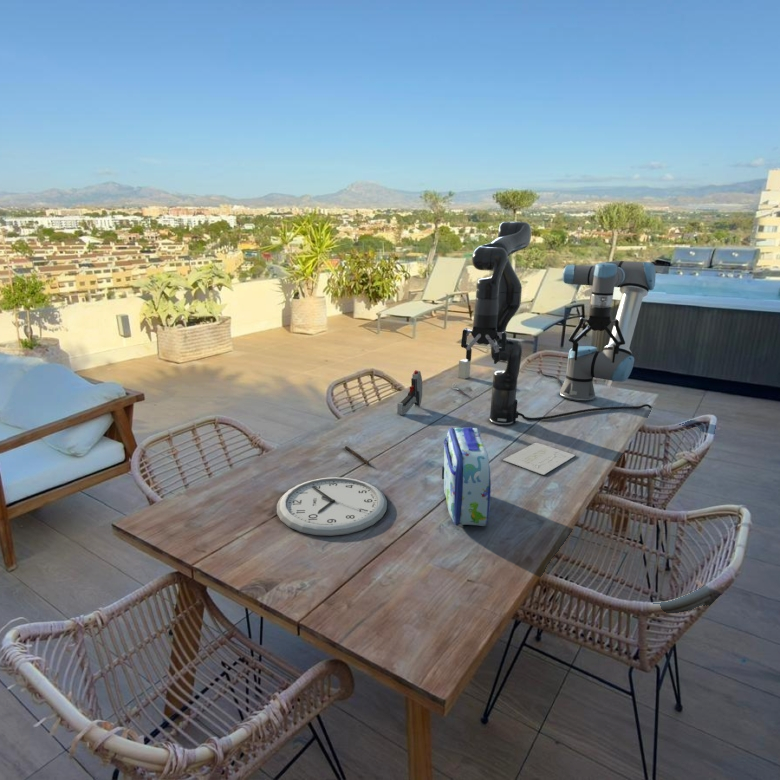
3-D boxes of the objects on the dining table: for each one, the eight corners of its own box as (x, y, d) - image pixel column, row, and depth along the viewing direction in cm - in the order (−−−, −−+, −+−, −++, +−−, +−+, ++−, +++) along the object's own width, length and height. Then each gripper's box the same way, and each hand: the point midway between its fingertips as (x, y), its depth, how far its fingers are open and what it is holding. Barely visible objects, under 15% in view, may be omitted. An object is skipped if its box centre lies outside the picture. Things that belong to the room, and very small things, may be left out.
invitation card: (535, 442, 186) (575, 454, 176) (535, 442, 187) (575, 455, 176) (502, 459, 172) (543, 474, 162) (502, 460, 172) (543, 475, 162)
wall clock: (392, 527, 129) (268, 531, 127) (391, 533, 130) (269, 537, 127) (383, 473, 158) (282, 475, 155) (383, 478, 158) (282, 480, 156)
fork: (463, 397, 236) (463, 392, 235) (450, 386, 250) (450, 382, 250) (468, 396, 236) (469, 392, 236) (455, 386, 251) (455, 382, 250)
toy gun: (396, 378, 207) (417, 368, 219) (397, 416, 213) (418, 404, 224) (401, 379, 206) (422, 369, 217) (402, 417, 212) (422, 405, 223)
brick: (458, 377, 267) (459, 360, 264) (462, 375, 271) (463, 358, 268) (464, 378, 265) (466, 361, 262) (469, 376, 268) (470, 360, 266)
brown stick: (344, 448, 179) (344, 445, 179) (346, 448, 179) (346, 445, 179) (367, 464, 167) (367, 462, 167) (368, 464, 167) (368, 461, 167)
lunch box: (439, 484, 155) (443, 418, 149) (476, 485, 155) (480, 418, 149) (448, 533, 130) (452, 456, 124) (491, 534, 130) (497, 457, 124)
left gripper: (461, 312, 164) (458, 362, 169) (507, 315, 160) (502, 367, 165) (466, 309, 171) (463, 357, 176) (510, 312, 167) (506, 361, 171)
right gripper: (566, 306, 195) (560, 361, 201) (638, 308, 189) (630, 365, 196) (565, 303, 202) (559, 356, 208) (634, 305, 196) (626, 360, 203)
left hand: (482, 362), depth 170 cm, fingers open, 8 cm apart
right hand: (593, 360), depth 202 cm, fingers open, 13 cm apart
